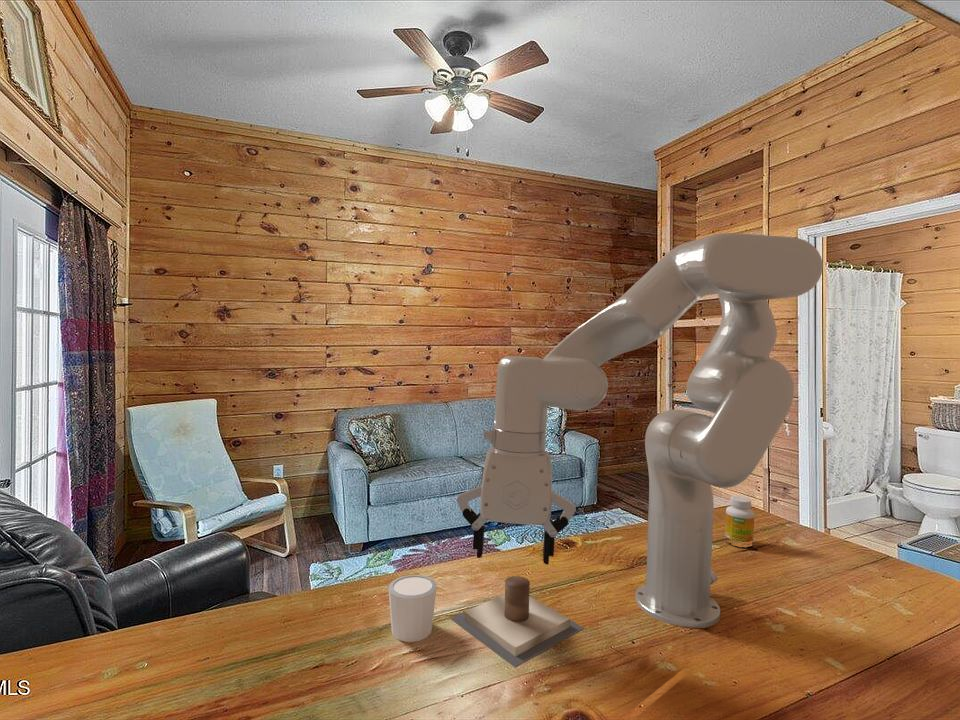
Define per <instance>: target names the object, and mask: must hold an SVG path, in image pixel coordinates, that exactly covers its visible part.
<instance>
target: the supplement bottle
mask: <svg viewBox="0 0 960 720" xmlns="http://www.w3.org/2000/svg"><path fill="white" fill-rule="evenodd" d="M729 504H730V505H729V506H727V507H726V508H725V509H726V510H725V525H724V526H725V527H724V537H725V536H726V537H727V538H729V539H731V540H735V541H741V542H750V541H753V542H754V534H755V533H754V532H755V531H754V530H755V512H754V511H753V510H752V509H751V507H752V499H750V498H749V497H745V496H739V495H731V496H730V497H729Z"/></svg>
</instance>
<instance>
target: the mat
mask: <svg viewBox="0 0 960 720" xmlns="http://www.w3.org/2000/svg"><path fill="white" fill-rule="evenodd" d="M449 619H450V620H451V621H452V622H453V623H455V624H456V625H458V626H459V627H461V628H462V629H463V630H464V631H466V632H467V633H469V635H471V636H472V637H474V638H475V639H476V640H478V641H479V642H481V643H482V644H483V645H484V646H485V647H487V648H489V649H490V650H491V651H493V652H494V653H495V654H496V655H498V656H499V657H500V658H502V659H503V660H505V661H506V662H508V664H510V665H511V666H512V667H514V668H517V667H518V666H520V665H522V664H523V663H526V662H527V661H529V660H531V659H533V658H534V657H536V656H539V654H542V653H543V652H545V651H547V650H549V649H551V648H552V647H554V646H556V645H558V644H560V643H561V642H562V641H565V640H567V639H568V638H570V637H572V636H573V635H575V634H577V633H579V632H581V631H582V630H584V629H585V627H584V626H581V625H580V624H578V623H576V621H575V622H574V621H573V620H571V619H570V627H569V628H567V629H565V630H563V631H561V632H560V633H558V634H556V635H554V636H552V637H550V638H548V639H547V640H545V641H543V642H541V643H539V644H537V645H536V646H534V647H532V648H530V649H528V650H526V651H525V652H523V653H521V654H519V655H517V656H514V655H513V654H511V653H510V652H508V651H507V650H506V649H504V648H503V647H502V646H500V645H499V644H497V643H496V642H495V641H493V640H492V639H491V638H489V637H488V636H486V635H485V634H484V633H482V632H481V631H479V630H478V629H477V628H475V627H474V626H473V625H471V624H470V623H468V622H467V621H466V620H464V612H461V613H459V614H457V615H454V616H452V617H450V618H449Z"/></svg>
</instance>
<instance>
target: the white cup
mask: <svg viewBox="0 0 960 720" xmlns="http://www.w3.org/2000/svg"><path fill="white" fill-rule="evenodd" d="M437 586H438V585H437V583H436V581H435V579H432V578H431V577H430V576H426V575H421V574H410V575H403V576H400V577H398V578H395V579H394V580H392V581H391V582H390V583H389V585H388V589H387V591H388V598H389V599H388V600H389V614H390V626H391V633H392V636H393V638H395V639H397V640H398V641H401V642H405V643H406V642H407V643H415V642H419V641H422V640H425V639H426V638H428V637H429V636H430V635H431V633H432V630H433V623H434V620H433V619H434V614H435V603H436V594H437Z"/></svg>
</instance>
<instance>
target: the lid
mask: <svg viewBox="0 0 960 720" xmlns="http://www.w3.org/2000/svg"><path fill="white" fill-rule="evenodd" d="M463 613H464V620H466V621H467V622H468V623H470V624H471V625H473V626H474V627H475V628H477V629H478V630H479V631H481V632H482V633H484V634H485V635H486V636H488V637H489V638H491V639H492V640H493V641H495V642H496V643H497V644H499V645H500V646H502V647H503V648H504V649H506V650H507V651H508V652H510V653H511V654H513V655H514V656H517V655H519V654H521V653H523V652H525V651H526V650H528V649H530V648H532V647H534V646H536V645H537V644H539V643H541V642H543V641H545V640H547V639H548V638H550V637H552V636H554V635H556V634H558V633H560V632H561V631H563V630H565V629H567V628H569V627H570V620H571V619H570V618H569V617H568V616H565V615H564V614H562V613H560V612H559V611H557V610H555V609H553V608H551V607H550V606H548V605H547V604H545V603H543V602H541V601H539V600H538V599H536V598H534V597H532V596H531V595H530V580H529V579H528V578H526V577H525V576H524V577H523V576H520V575H512V576H509V577H507V578H506V579H505V580H504V594H503V595H502V594H501V595H500V596H498V597H495V598H493V599H490V600H488V601H486V602H484V603H481V604H479V605H477V606H474V607H471V608H469V609H467V610H464V611H463Z"/></svg>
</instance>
